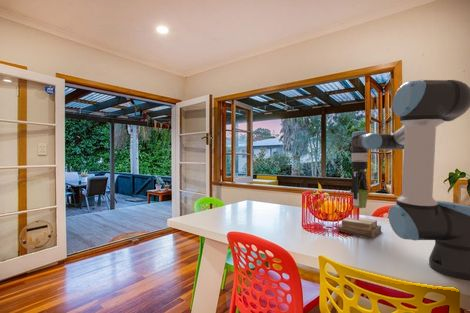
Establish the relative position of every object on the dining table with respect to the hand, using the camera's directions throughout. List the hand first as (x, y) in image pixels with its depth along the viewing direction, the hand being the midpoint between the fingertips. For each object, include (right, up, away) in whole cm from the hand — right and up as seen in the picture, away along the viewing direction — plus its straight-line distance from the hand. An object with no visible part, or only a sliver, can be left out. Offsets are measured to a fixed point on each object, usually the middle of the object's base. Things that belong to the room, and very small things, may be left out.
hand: (359, 204), depth 132 cm
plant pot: (0, -2, 0) cm, 2 cm away
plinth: (0, -14, 0) cm, 14 cm away
